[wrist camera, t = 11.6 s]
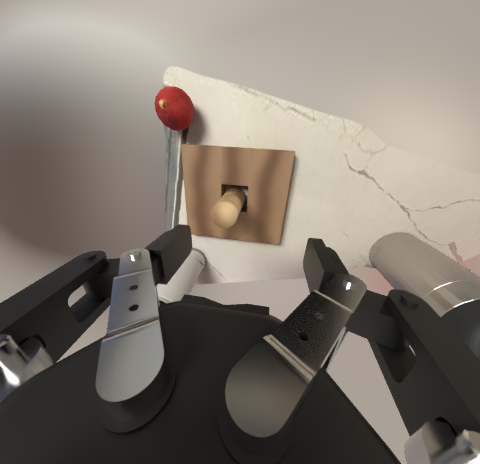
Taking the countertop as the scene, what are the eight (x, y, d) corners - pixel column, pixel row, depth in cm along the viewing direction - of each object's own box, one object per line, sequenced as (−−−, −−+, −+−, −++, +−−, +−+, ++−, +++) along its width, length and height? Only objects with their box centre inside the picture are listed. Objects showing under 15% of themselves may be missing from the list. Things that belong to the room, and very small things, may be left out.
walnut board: (293, 150, 33) (295, 151, 30) (278, 238, 41) (279, 244, 38) (186, 144, 35) (181, 144, 32) (192, 229, 43) (188, 233, 40)
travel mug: (209, 252, 45) (170, 324, 27) (202, 271, 48) (162, 347, 30) (186, 242, 44) (131, 308, 27) (179, 262, 47) (126, 333, 30)
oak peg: (247, 186, 36) (238, 203, 26) (245, 205, 38) (236, 229, 28) (226, 184, 37) (209, 200, 26) (226, 204, 39) (210, 226, 28)
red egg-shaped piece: (201, 132, 33) (183, 128, 26) (171, 131, 34) (146, 127, 27) (199, 93, 31) (178, 77, 24) (167, 93, 31) (137, 78, 24)
